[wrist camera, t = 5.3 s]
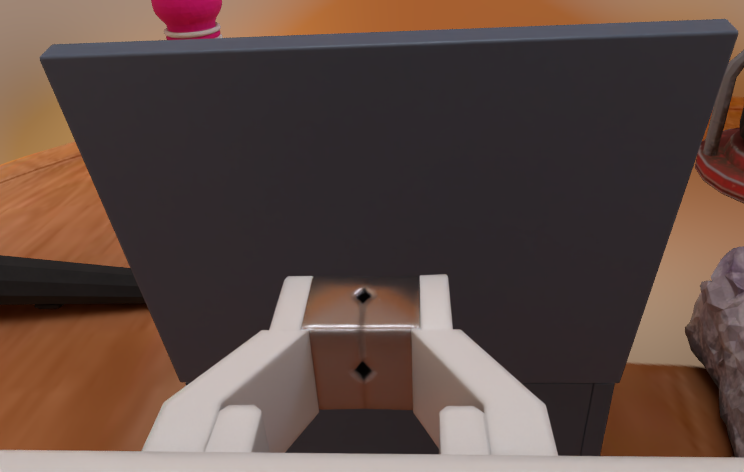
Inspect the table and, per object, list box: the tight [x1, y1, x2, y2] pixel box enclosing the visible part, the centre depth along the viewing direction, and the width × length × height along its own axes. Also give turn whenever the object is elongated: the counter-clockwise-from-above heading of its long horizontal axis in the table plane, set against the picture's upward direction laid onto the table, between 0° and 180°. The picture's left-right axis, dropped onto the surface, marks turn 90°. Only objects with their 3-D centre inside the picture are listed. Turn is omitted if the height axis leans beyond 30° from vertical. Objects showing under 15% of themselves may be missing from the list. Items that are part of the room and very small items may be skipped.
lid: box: [40, 19, 738, 383], centre depth 19 cm, size 13×17×1 cm
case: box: [186, 382, 615, 456], centre depth 32 cm, size 13×17×8 cm
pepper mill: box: [151, 0, 222, 40], centre depth 58 cm, size 7×7×20 cm
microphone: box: [0, 255, 146, 309], centre depth 43 cm, size 6×6×20 cm
